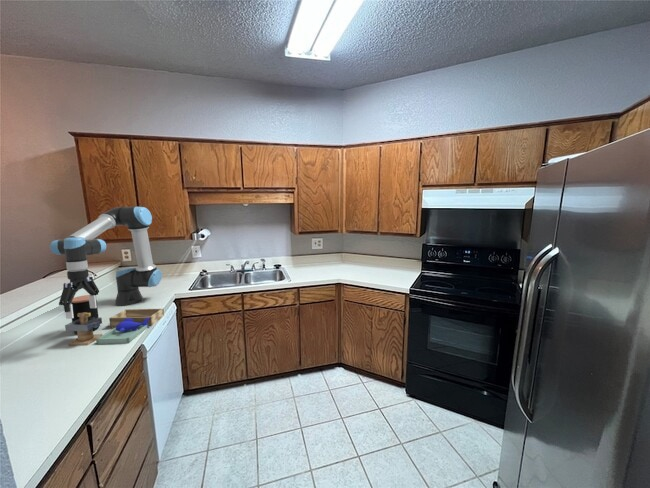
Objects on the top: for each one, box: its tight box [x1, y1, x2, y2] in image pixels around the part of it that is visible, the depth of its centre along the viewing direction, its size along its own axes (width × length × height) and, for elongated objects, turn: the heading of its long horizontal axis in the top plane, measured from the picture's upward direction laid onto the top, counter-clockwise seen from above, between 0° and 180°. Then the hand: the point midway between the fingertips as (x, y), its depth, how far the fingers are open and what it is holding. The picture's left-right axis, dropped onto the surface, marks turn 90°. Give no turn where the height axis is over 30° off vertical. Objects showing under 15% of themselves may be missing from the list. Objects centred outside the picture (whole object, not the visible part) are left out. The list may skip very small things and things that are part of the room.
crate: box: [109, 308, 165, 329], centre depth 155 cm, size 13×22×6 cm, turn 93°
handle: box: [68, 312, 103, 346], centre depth 134 cm, size 9×9×14 cm
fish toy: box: [116, 317, 150, 331], centre depth 144 cm, size 15×8×7 cm, turn 118°
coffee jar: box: [71, 294, 100, 335], centre depth 145 cm, size 11×11×18 cm
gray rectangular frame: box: [64, 316, 103, 332], centre depth 134 cm, size 9×12×3 cm
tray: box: [95, 325, 148, 345], centre depth 140 cm, size 16×15×2 cm
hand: (82, 312), depth 133 cm, fingers open, 13 cm apart
